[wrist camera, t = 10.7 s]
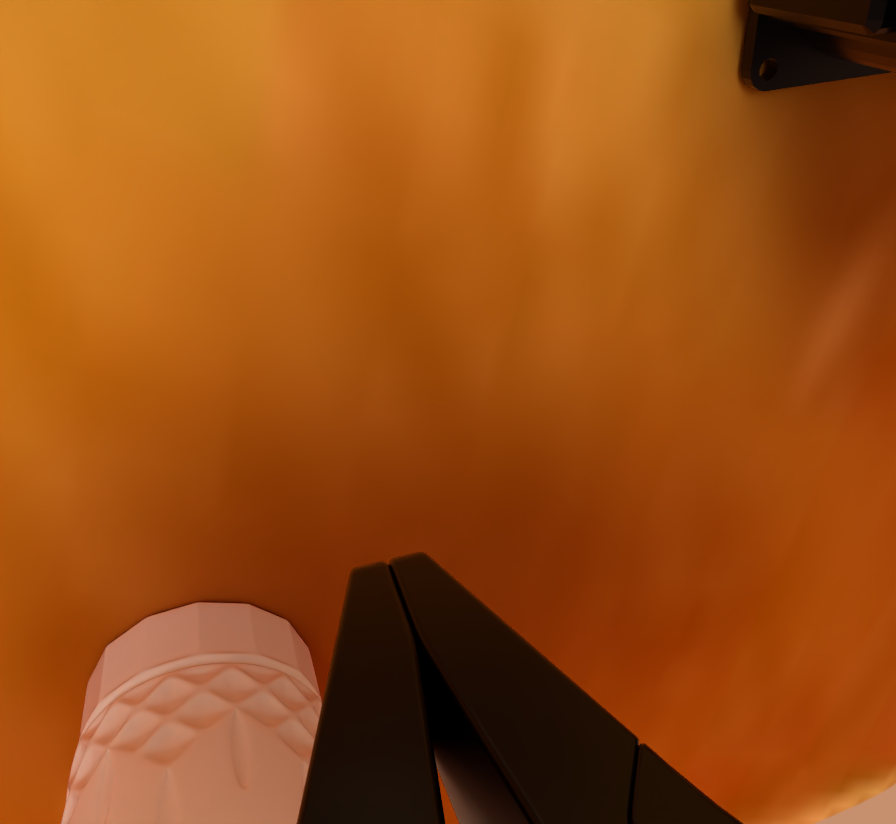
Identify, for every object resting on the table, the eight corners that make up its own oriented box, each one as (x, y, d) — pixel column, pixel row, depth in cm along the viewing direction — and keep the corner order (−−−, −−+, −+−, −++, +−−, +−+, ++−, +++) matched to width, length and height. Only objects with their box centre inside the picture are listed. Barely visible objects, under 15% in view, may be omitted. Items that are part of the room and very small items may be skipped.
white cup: (124, 558, 22) (101, 933, 14) (368, 611, 26) (459, 929, 18) (31, 743, 25) (-32, 1147, 17) (265, 767, 29) (304, 1104, 21)
